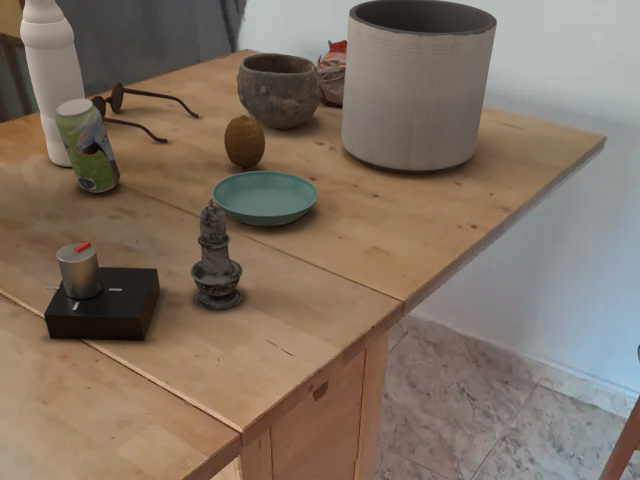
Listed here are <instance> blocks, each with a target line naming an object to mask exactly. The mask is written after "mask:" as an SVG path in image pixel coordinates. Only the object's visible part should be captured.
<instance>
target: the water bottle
mask: <svg viewBox="0 0 640 480" xmlns="http://www.w3.org/2000/svg"><path fill="white" fill-rule="evenodd" d="M24 2H25V3H24V7H23V10H22V20H21V22H20V27H19V34H20V39H21V41H22V43H23V44H24V51H25V57H26V58H25V59H26V63H27V68H28V72H29V76H30V77H29V78H30V81H31V85H32V89H33V93H34V97H35V100H36V103H37V106H38V110H39V113H40V124H41V128H42V131H43V133H44V136H45V142H46V143H45V144H46V147H47V153H48V158H49V160H50V161H51V162H52V163H53V164H55V165H57V166H59V167H64V168H73V167H72V164H71V162H70V159H69V156H68V154H67V151H66V148H65V146H64V143H63V141H62V138H61V135H60V133H59V130H58V127H57V125H56V121H55V120H56V114H57V112H56V108H57V107H58V106H59V105H60V104H61V103H63V102H65V101H68V100H71V99H77V98H85V99H86V95H85V87H84V82H83V77H82V72H81V66H80V61H79V57H78V54H77V50H76V46H75V43H74V40H75V33H74V30H73V28H72V26H71V24H70V22H69V21H68V19H67V18H66V17H65V16H64V12H63V10H62V9H61V7H60V6H59V5H58V4H57V2H56V0H24Z"/></svg>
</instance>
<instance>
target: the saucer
mask: <svg viewBox="0 0 640 480" xmlns="http://www.w3.org/2000/svg"><path fill="white" fill-rule="evenodd" d="M211 197H212V200H213V202H214V203H216V206H217V207H220V208H221V209H222V210H223V211H224V212H225V214H226V215H228V216H229V217H230V218H233V219H234V220H236V221H238V222H241V223H243V224H247V225H251V226H256V227H257V226H259V227H260V226H261V227H275V226H282V225H286V224H289V223H292V222H294V221H297V220H298V219H300V218H301V217H303V216H304V215H305V214H307V212H308V211H309V210H310V209H311V208H312V207H313V206H314V205H315V203H316V202H317V200H318V198H319V191H318V188H317V187H316V186H315V185H314V184H313V183H312V182H310V181H309V180H308V179H305V178H304V177H300V176H299V175H296V174H291V173H287V172H282V171H273V170H252V171H244V172H239V173H236V174H232V175H229V176H227V177H225V178H222V179H221V180H220V181H218V182H217V183H215V185H214V186H213V188H212V191H211Z"/></svg>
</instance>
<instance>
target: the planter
mask: <svg viewBox="0 0 640 480" xmlns="http://www.w3.org/2000/svg"><path fill="white" fill-rule="evenodd" d="M347 21H348V22H347V23H348V24H347V39H346V41H347V54H346V69H345V84H344V98H343V107H342V113H341V114H342V115H341V128H340V129H341V131H340V133H341V134H340V139H341V145H342V147H343V148H344V150H345V151H346V152H347V153H348V154H349V156H351V157H352V158H354V159H355V160H356V161H358V162H359V163H361V164H363V165H365V166H367V167H370V168H372V169H375V170H379V171H383V172H388V173H393V174H401V175H410V176H411V175H413V176H415V175H417V176H418V175H419V176H420V175H434V174H440V173H445V172H448V171H451V170H454V169H455V168H458V167H460V166H461V165H463V164H465V163H466V162H468V161H469V160H470V159H471V158H472V157H473V155H474V154H475V150H476V145H477V141H478V135H479V130H480V124H481V118H482V112H483V107H484V100H485V94H486V87H487V81H488V75H489V71H490V65H491V59H492V54H493V47H494V42H495V37H496V31H497V27H498V20H497V19H496V17H495V16H494V15H493V14H491V13H490V12H488V11H485V10H483V9H481V8H478V7H476V6H475V7H474V6H472V5H468V4H463V3H458V2H454V1H453V2H452V1H447V0H370V1H365V2H362V3H361V2H360V3H359V4H358V3H357V4H356V5H354V6H353V7H351V8H350V9H349V11H348V20H347Z"/></svg>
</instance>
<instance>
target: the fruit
mask: <svg viewBox="0 0 640 480" xmlns="http://www.w3.org/2000/svg"><path fill="white" fill-rule="evenodd" d="M223 138H224V139H223V142H224V149H225V152H226V155H227V157H228V159H229V161H230V162H231V163H232V164H233V165H234V166H236V167H237V168H240V169H242V170H249V169H251V168H253V167H254V168H255V166H258V165H259V163H260V162H261V161H262V158H263V156H264V155H265V154H264V153H265V150H266V139H265V138H266V137H265V133H264V131H263V128H262V126H261V124H260V123H259V121H258V120H256V119H255V118H254V117H251V116H248V115H246V114H241V115H240V116H237V117H234V118H232V119H231V120H230V122H229V123H228V124H227V126H226V128H225V130H224V135H223Z"/></svg>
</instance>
